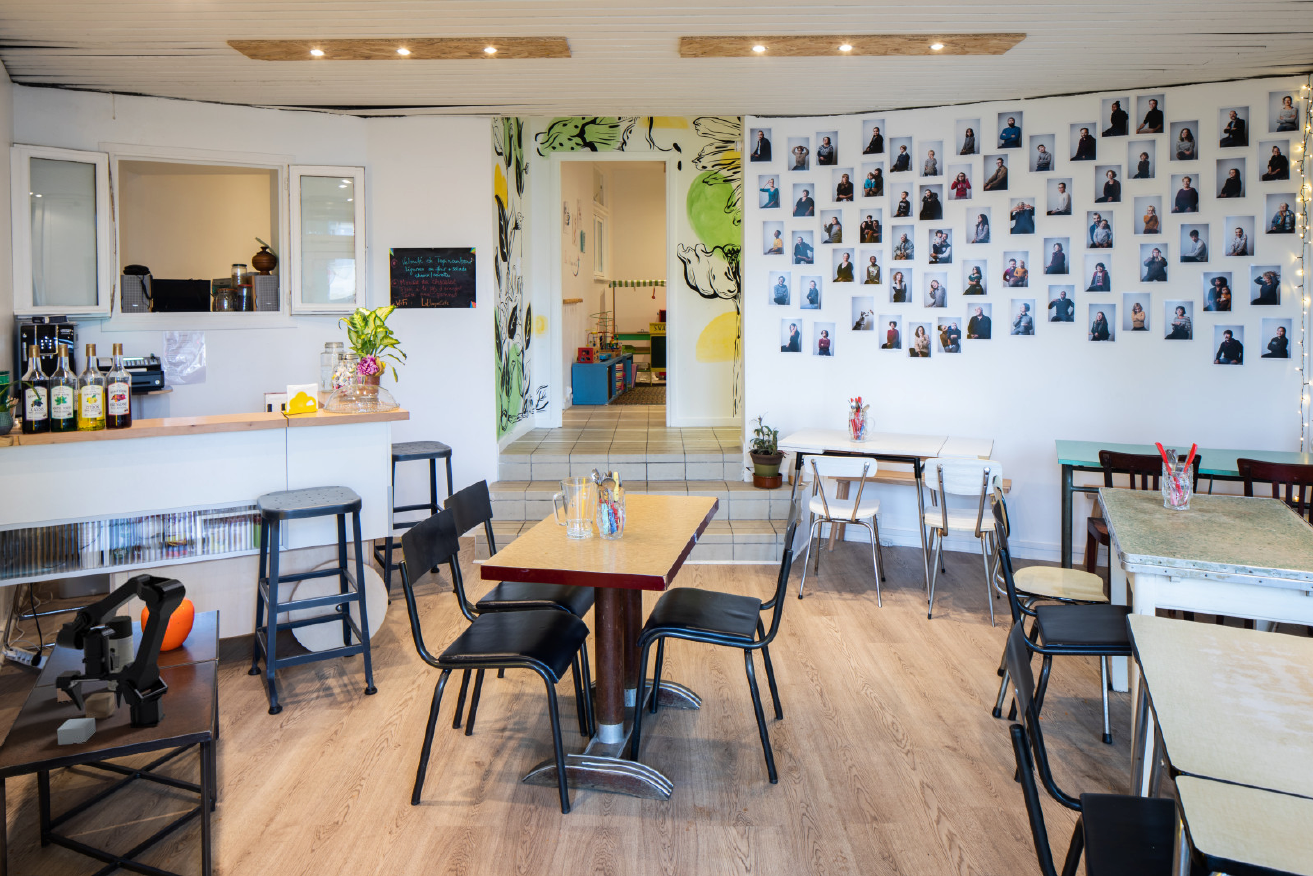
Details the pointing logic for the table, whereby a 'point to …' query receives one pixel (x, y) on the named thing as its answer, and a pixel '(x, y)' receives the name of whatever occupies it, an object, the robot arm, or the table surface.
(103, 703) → the walnut cube
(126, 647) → the spray can
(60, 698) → the terracotta block
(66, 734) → the slate block
